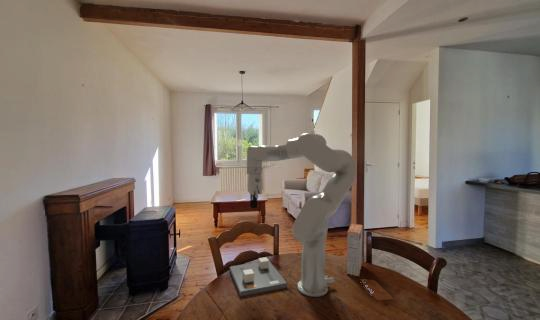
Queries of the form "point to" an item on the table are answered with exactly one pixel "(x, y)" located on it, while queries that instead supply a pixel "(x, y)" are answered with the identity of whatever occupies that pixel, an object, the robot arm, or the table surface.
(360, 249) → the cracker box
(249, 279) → the tab
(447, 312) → the table surface
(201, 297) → the table surface
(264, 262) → the tab
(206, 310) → the table surface
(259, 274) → the switch panel
